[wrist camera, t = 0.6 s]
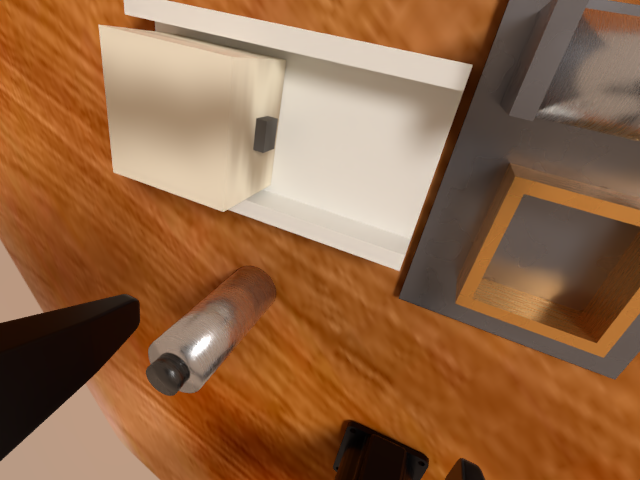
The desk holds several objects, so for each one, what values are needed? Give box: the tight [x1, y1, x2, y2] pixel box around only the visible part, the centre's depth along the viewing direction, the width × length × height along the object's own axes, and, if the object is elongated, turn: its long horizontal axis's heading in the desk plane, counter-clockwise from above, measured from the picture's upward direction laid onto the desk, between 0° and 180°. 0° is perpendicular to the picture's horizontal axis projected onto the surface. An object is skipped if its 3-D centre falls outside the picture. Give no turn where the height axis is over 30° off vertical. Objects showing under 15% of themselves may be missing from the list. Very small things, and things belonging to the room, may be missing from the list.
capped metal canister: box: [146, 266, 276, 396], centre depth 23 cm, size 4×4×10 cm
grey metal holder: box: [399, 0, 640, 379], centre depth 15 cm, size 16×12×5 cm
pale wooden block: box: [99, 25, 286, 212], centre depth 19 cm, size 7×8×5 cm
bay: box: [124, 0, 473, 271], centre depth 20 cm, size 10×18×2 cm, turn 79°
